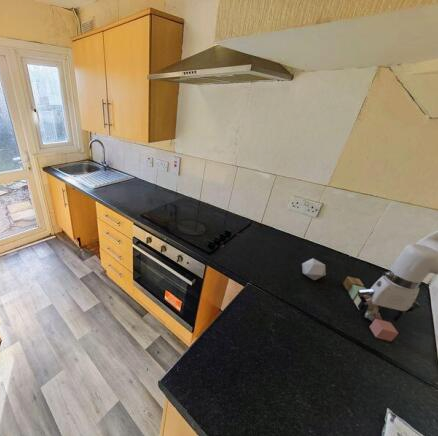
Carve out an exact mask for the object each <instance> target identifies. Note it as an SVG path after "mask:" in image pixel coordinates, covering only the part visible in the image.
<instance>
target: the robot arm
mask: <svg viewBox="0 0 438 436" xmlns="http://www.w3.org/2000/svg"><path fill="white" fill-rule="evenodd" d="M429 274H435V275H438V230H436V231H434V232H432V233H429V234H428V235H425V236H424V237H422V238H421V239H419V240H418V241H416V243H410V244H407V245H406V246H404V248H403V249H402V251H401V252H400V253H399V255H398V257H397V258H396V259H395V261H394V262H393V264H392V265H391V267H390V268H389V269H388V271H383V272H382V276H381V277H380V278H379V279H378V280H377V281H375V282H374V284H372V286H371V287H370V288H366V289H367V290H358V296H359V298H360V299H361V302H360V303H359V305H358V308H359V309H358V308H357V309H358V311H360V313H361V314H366V310H367V308H368V307H369V306H368V304H372V303H374V304H375V305H378V307H382V308H383V307H384V308H387V309H391V311H389V313H388V314H389V315H388V316H390V318H391V319H392V320H393V322H397V321H398V320H399V319H400V318H401V317H402V316H403V315H406V314H408V313H409V312H413V311H415V310H417V309H419V308H420V307H421V305H420V304H419V303H418V302H417V301H416V299H417V297H418V295H419V292H420V287H419V286H420V285H421V284H422V282H423V281H424V280H425V279H426V277H427V276H428V275H429ZM364 295H367V296H364ZM367 299H371V300H368V301H366V300H367Z"/></svg>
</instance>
